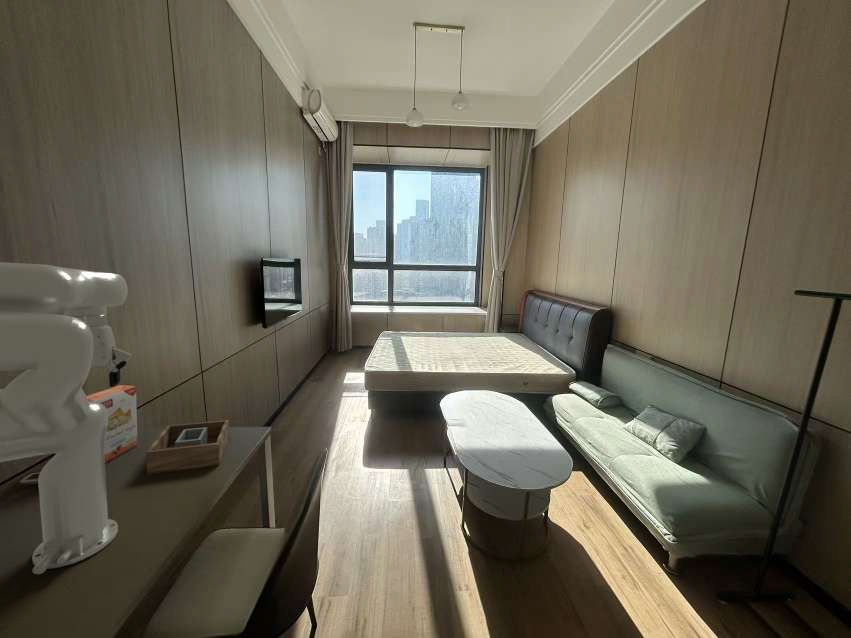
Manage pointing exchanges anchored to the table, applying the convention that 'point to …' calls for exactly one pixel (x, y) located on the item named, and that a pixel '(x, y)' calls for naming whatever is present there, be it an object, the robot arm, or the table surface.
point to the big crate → (187, 448)
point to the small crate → (192, 437)
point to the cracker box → (118, 419)
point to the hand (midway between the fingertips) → (90, 386)
